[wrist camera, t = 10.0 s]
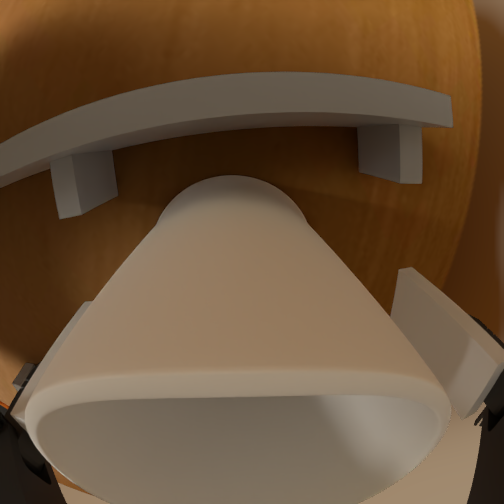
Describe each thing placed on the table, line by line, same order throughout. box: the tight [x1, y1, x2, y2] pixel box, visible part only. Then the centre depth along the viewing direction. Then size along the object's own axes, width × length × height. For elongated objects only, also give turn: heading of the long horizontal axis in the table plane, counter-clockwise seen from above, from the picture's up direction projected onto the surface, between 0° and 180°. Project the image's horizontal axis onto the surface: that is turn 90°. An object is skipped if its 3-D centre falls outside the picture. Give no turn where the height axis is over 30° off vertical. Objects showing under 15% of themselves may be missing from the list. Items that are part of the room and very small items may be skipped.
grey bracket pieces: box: [0, 72, 453, 391], centre depth 12 cm, size 29×17×6 cm, turn 95°
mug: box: [25, 175, 451, 504], centre depth 9 cm, size 12×8×12 cm
